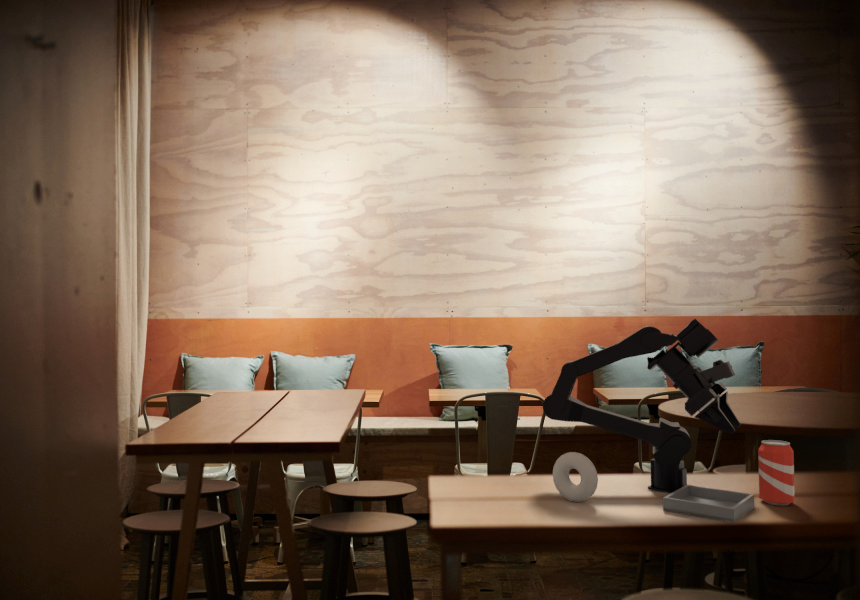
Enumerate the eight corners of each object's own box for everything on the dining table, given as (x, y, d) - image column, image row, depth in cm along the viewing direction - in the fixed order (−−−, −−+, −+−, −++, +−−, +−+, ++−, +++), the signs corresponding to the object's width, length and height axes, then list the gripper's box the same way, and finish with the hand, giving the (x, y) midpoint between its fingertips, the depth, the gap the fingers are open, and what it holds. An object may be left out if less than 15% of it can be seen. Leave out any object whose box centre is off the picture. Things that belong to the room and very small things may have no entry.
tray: (663, 510, 133) (663, 497, 133) (687, 496, 143) (687, 484, 143) (734, 523, 125) (733, 509, 125) (754, 507, 134) (754, 494, 135)
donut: (601, 504, 138) (600, 454, 138) (592, 507, 135) (592, 456, 136) (558, 495, 145) (558, 447, 145) (549, 498, 142) (549, 450, 142)
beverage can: (797, 507, 134) (796, 445, 134) (761, 505, 136) (760, 444, 136) (791, 499, 140) (790, 440, 140) (757, 497, 142) (756, 438, 142)
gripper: (703, 348, 137) (763, 409, 132) (717, 345, 153) (771, 399, 148) (661, 385, 141) (718, 445, 136) (679, 378, 157) (730, 432, 152)
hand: (736, 429), depth 142 cm, fingers open, 9 cm apart
